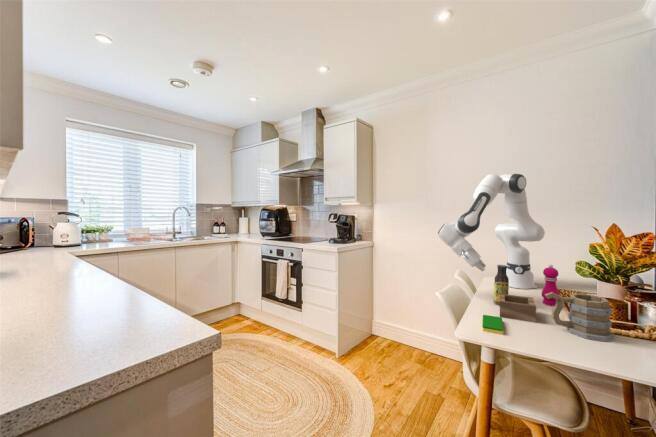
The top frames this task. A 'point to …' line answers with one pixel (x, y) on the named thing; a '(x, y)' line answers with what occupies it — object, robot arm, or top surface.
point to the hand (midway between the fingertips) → (484, 268)
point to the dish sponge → (492, 324)
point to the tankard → (585, 316)
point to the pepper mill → (550, 285)
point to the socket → (517, 308)
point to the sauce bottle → (500, 283)
